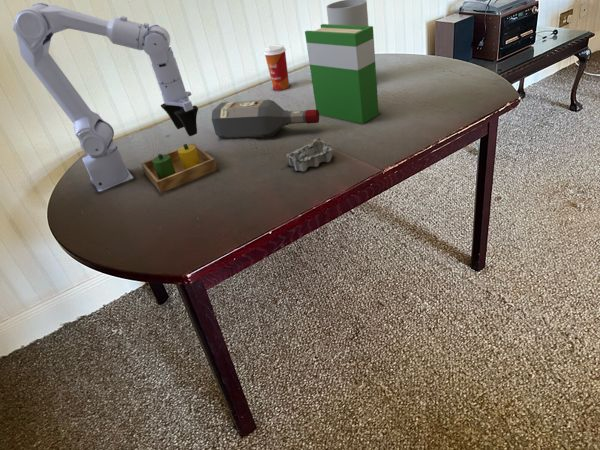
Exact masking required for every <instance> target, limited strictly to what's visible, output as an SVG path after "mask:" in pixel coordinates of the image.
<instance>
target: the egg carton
mask: <svg viewBox="0 0 600 450" xmlns="http://www.w3.org/2000/svg"><path fill="white" fill-rule="evenodd" d="M332 151H334V149H333V148H332V147H330V146H329V145H327V144H326V142H325V141H324V140H323V139H322V138H321V137H318V138H317V137H316V138H314V139H312V140H310V141H309V143H308V144H304V145H303V146H302V147H300V148H297V149H295V150H293V151H292V152H290V153H286V154H285V156H286V158H287V160H288V165H289V166H290V167H294V171H297V172H298V171H299V172H303V173H304V172H307V169H308V168H310V167H314V168H317V167H319V165H320V163H330V162H331V160H332V158H333V153H332Z"/></svg>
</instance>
